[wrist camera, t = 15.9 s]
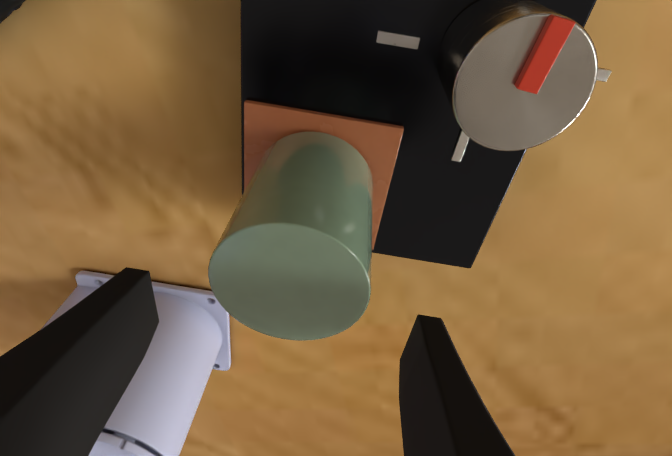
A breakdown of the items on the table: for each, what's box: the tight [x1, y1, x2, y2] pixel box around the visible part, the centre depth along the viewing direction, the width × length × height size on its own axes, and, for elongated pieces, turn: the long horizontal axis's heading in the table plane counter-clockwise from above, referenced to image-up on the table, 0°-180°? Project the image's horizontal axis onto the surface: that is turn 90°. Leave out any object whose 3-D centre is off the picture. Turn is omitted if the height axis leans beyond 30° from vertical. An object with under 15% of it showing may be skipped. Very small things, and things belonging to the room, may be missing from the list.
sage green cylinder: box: [208, 132, 373, 340], centre depth 14 cm, size 5×5×6 cm
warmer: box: [241, 0, 611, 268], centre depth 16 cm, size 12×13×3 cm
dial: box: [438, 0, 598, 151], centre depth 12 cm, size 4×4×4 cm
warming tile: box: [244, 100, 404, 250], centre depth 17 cm, size 6×6×1 cm
